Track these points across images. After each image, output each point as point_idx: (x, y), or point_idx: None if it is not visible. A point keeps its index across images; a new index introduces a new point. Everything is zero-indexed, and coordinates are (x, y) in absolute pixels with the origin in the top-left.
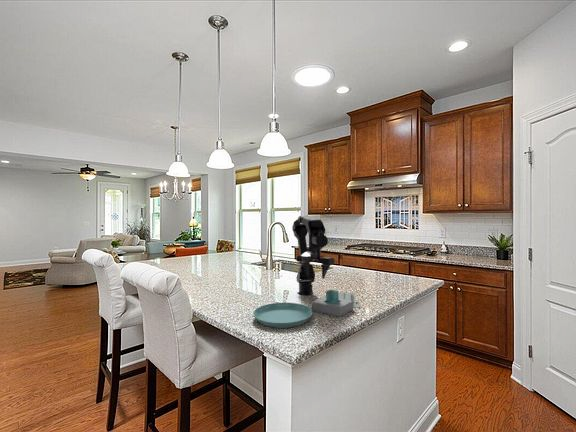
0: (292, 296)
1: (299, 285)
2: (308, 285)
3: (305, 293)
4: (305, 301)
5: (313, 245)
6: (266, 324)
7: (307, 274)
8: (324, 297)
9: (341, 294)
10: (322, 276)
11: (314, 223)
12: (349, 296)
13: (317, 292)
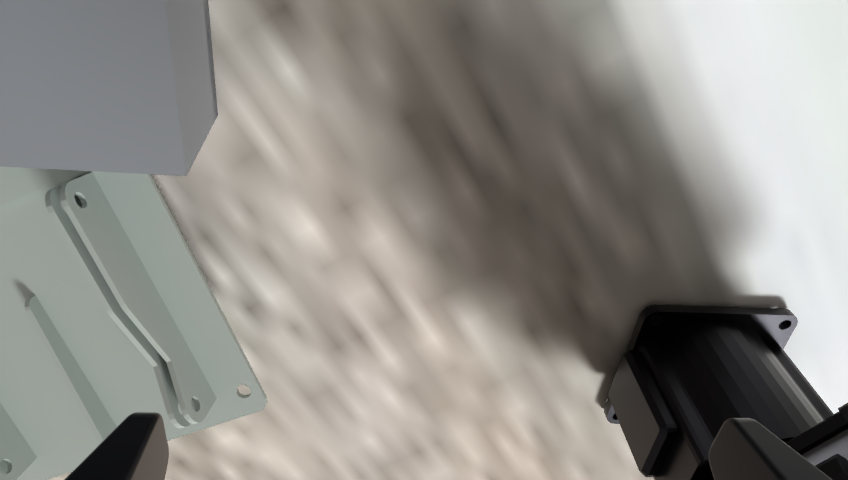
0: (826, 184)
1: (826, 412)
2: (684, 432)
3: (679, 332)
4: (561, 75)
5: None
6: None
7: (745, 473)
8: (126, 59)
9: (135, 404)
10: (118, 461)
11: None
12: (18, 402)
13: (570, 443)
